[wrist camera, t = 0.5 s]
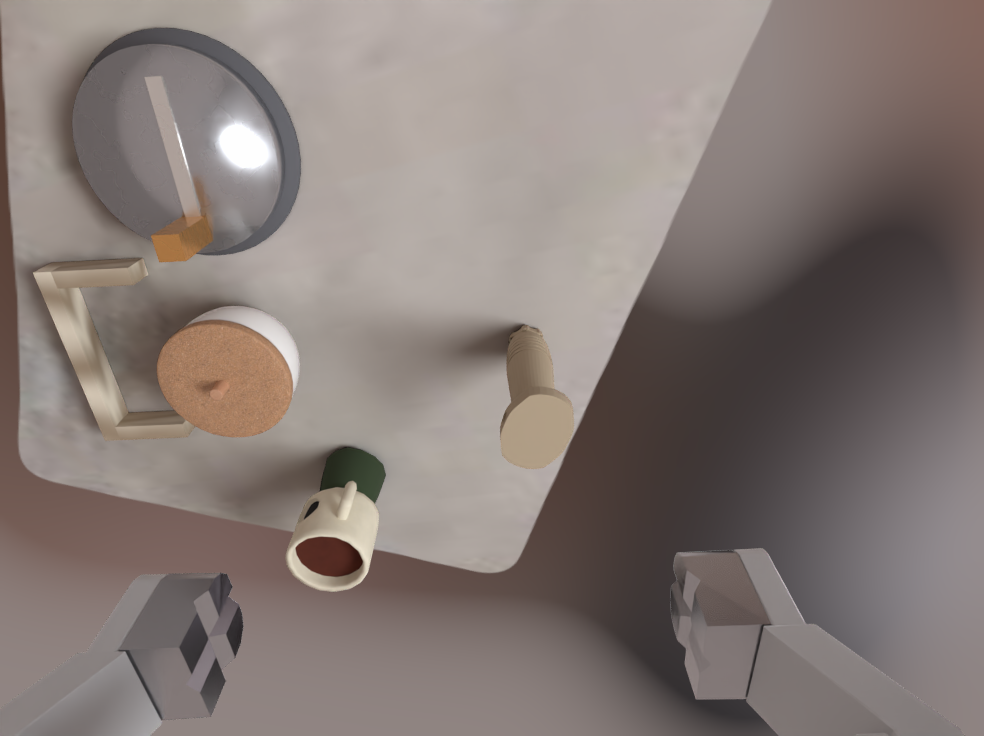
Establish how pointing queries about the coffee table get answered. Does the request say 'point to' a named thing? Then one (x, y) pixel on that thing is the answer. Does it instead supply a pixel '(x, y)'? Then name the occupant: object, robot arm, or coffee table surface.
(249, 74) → the base
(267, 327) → the lidded jar
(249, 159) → the turntable
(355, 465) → the character mug
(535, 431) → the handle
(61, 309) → the cream u-shaped bracket
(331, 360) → the coffee table surface
